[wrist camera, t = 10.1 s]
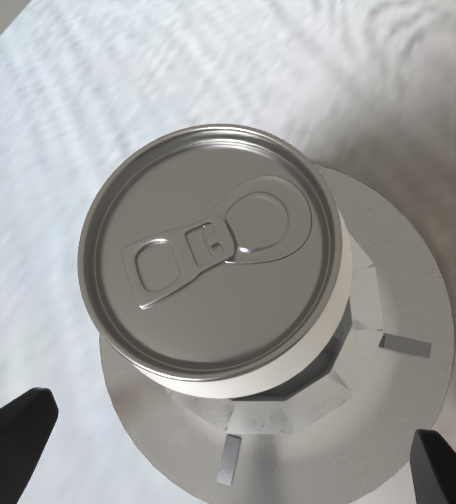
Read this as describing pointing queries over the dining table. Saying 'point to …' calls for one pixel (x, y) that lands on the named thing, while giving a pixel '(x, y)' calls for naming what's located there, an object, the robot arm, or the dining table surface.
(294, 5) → the dining table surface
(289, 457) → the rosette
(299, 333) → the can
